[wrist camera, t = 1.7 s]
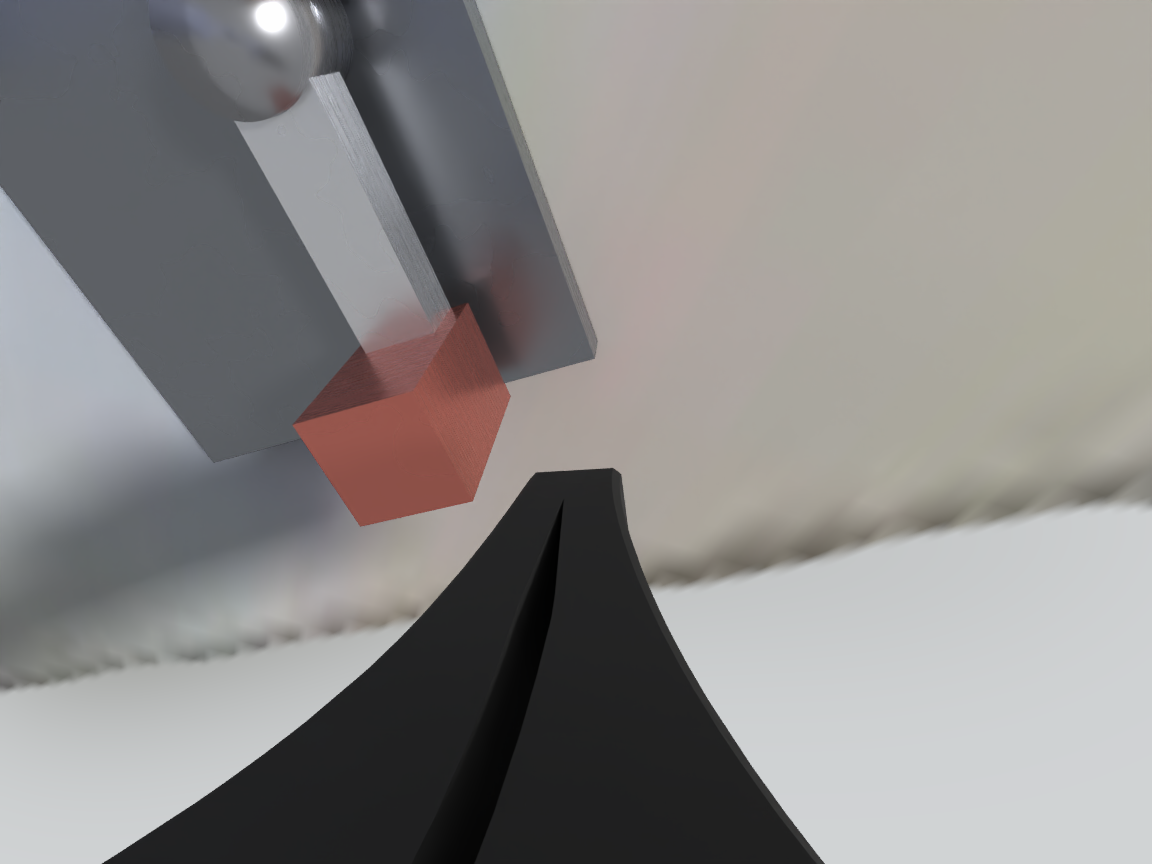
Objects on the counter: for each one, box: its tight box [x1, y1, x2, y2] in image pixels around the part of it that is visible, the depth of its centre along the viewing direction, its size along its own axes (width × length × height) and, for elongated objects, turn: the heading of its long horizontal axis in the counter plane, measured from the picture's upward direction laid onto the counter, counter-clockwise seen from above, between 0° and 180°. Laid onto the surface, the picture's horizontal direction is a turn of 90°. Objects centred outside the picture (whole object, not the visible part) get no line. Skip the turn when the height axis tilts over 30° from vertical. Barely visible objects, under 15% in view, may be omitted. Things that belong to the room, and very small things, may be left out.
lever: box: [148, 0, 510, 527], centre depth 15 cm, size 12×3×5 cm, turn 19°
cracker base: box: [0, 0, 597, 462], centre depth 15 cm, size 14×14×7 cm
